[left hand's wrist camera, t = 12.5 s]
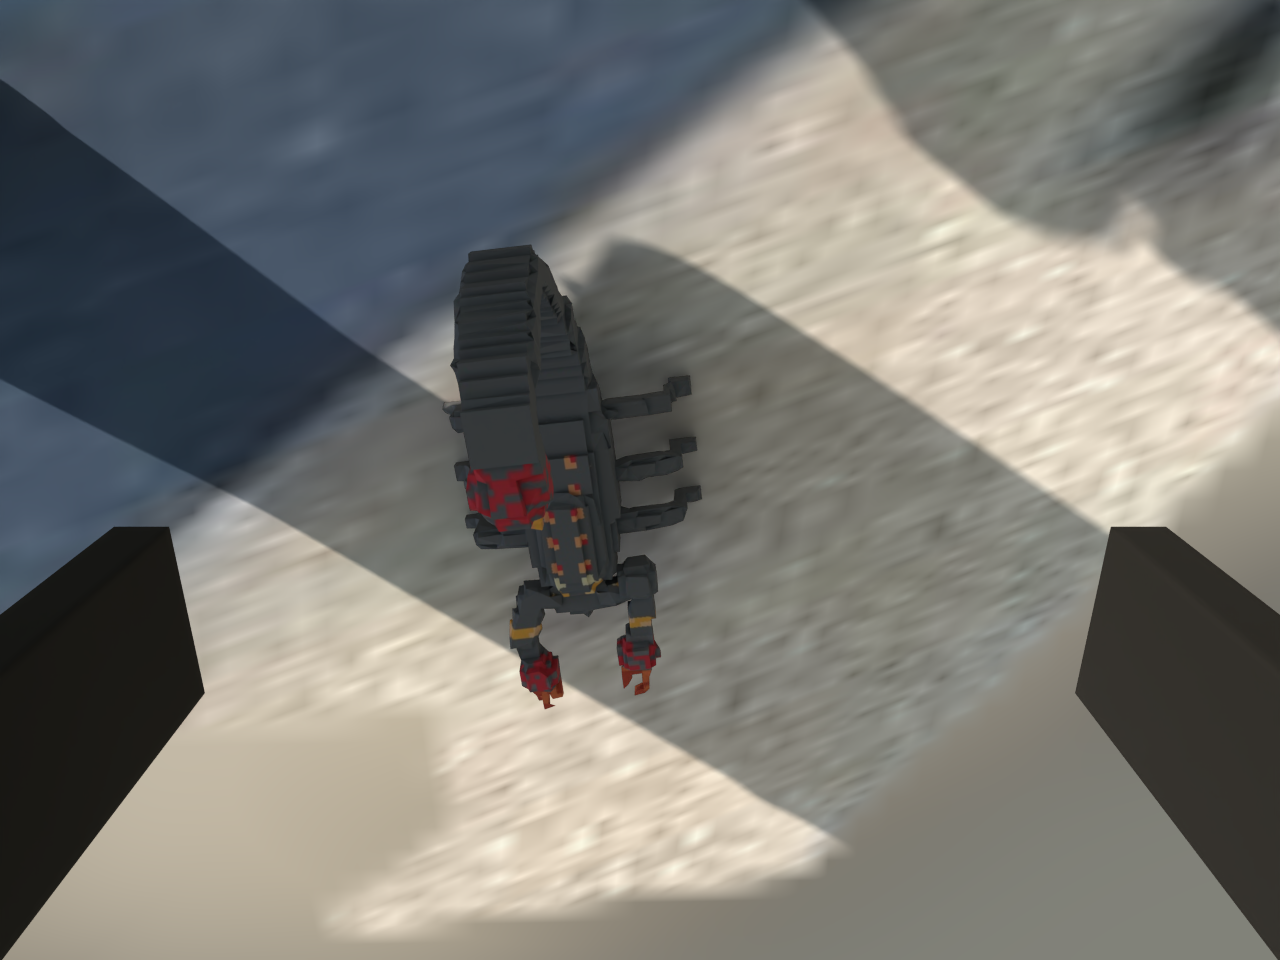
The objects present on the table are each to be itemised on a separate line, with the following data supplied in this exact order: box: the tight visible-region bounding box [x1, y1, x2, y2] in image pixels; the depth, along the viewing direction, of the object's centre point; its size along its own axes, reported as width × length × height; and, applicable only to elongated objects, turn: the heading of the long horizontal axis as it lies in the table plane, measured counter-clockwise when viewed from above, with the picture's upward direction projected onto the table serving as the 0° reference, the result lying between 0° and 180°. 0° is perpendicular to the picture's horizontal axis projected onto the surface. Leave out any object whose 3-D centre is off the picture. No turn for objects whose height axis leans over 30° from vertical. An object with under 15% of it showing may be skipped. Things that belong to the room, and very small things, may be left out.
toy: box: [443, 245, 702, 709], centre depth 41 cm, size 13×27×18 cm, turn 7°
